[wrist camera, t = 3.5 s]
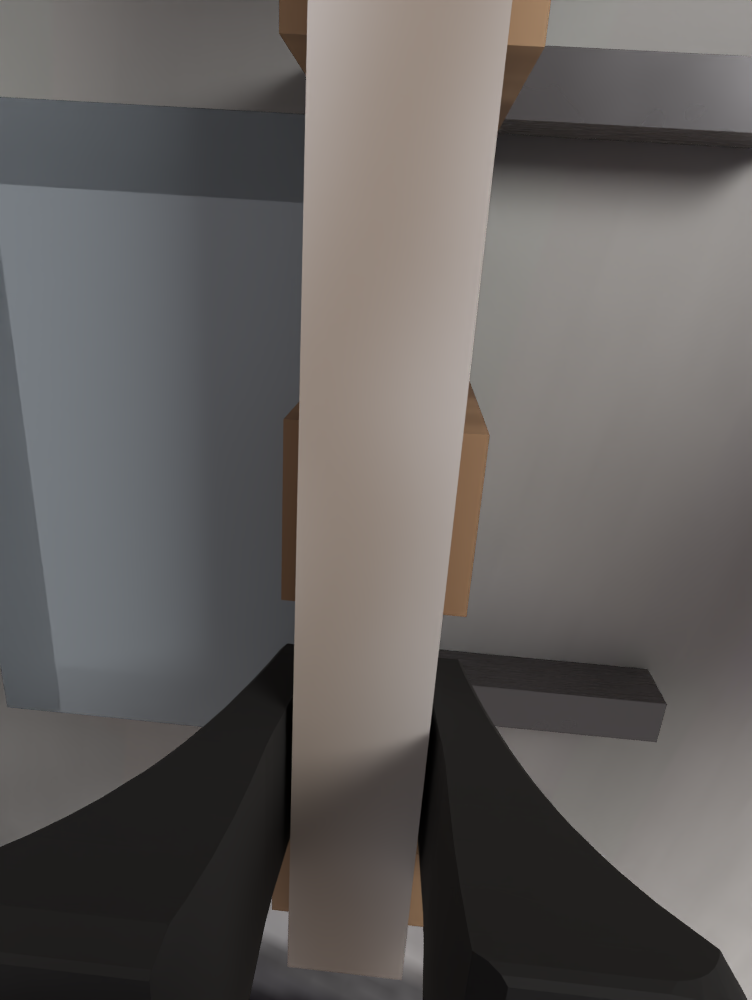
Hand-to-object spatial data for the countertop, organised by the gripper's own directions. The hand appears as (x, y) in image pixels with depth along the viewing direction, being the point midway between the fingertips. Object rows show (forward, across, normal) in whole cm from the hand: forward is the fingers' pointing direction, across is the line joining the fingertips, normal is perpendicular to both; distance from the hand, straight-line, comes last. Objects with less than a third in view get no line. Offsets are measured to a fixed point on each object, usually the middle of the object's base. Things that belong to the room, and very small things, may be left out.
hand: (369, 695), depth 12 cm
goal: (+5, +4, -4) cm, 8 cm away
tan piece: (+5, 0, -4) cm, 7 cm away
